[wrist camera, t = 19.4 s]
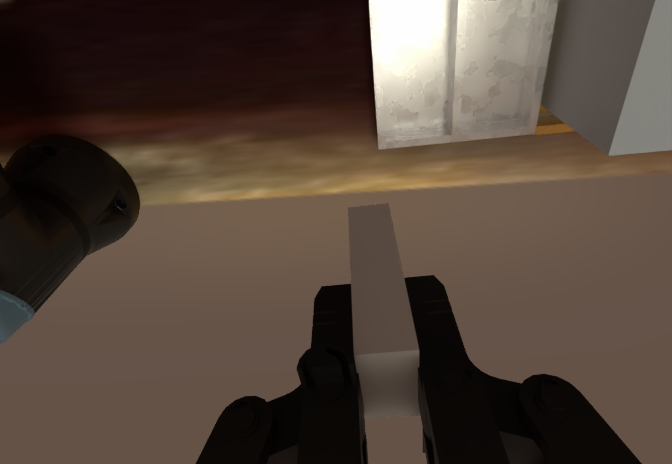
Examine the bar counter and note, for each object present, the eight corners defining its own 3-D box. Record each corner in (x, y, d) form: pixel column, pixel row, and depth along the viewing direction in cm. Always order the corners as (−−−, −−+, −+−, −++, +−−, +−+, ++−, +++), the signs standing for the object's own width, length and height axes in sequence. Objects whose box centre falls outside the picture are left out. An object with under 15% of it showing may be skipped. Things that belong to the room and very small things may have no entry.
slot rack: (377, 138, 45) (378, 150, 42) (363, -62, 34) (364, -64, 31) (599, 114, 42) (618, 126, 39) (658, -108, 32) (690, -116, 29)
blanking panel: (537, 102, 41) (608, 155, 30) (565, -60, 33) (677, -72, 22) (586, 97, 41) (677, 149, 29) (627, -69, 33) (773, -86, 21)
